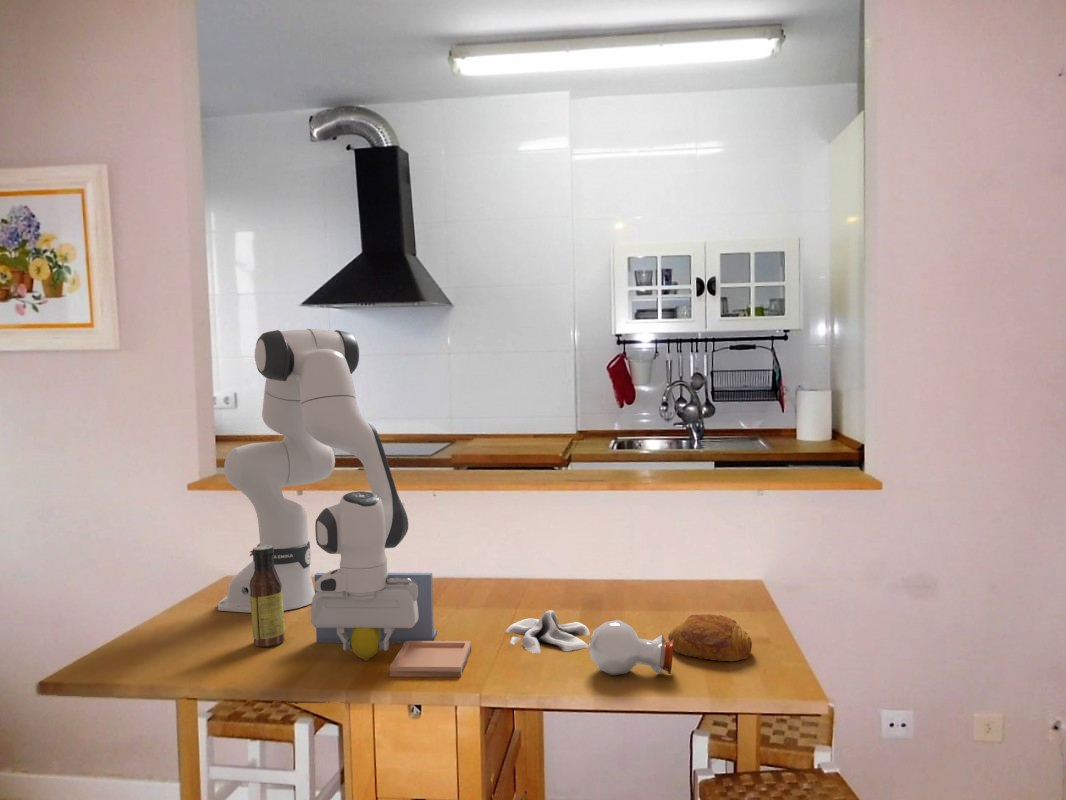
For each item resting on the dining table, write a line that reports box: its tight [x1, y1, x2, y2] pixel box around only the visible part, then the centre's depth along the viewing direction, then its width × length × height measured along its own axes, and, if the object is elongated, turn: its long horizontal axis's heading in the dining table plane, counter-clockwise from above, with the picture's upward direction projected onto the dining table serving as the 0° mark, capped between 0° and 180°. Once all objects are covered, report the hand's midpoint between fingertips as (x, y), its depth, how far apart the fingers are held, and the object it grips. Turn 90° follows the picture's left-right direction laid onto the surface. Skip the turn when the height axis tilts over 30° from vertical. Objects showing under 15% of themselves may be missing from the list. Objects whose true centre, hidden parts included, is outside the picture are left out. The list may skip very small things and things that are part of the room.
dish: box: [389, 640, 472, 678], centre depth 145 cm, size 13×13×2 cm
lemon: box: [351, 627, 381, 661], centre depth 146 cm, size 6×6×8 cm
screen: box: [314, 572, 438, 644], centre depth 158 cm, size 24×5×14 cm, turn 86°
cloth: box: [505, 609, 591, 654], centre depth 156 cm, size 22×19×6 cm
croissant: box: [667, 613, 753, 662], centre depth 148 cm, size 14×16×8 cm
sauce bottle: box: [250, 545, 286, 648], centre depth 156 cm, size 7×6×20 cm
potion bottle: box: [588, 619, 674, 676], centre depth 138 cm, size 9×10×15 cm
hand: (366, 649), depth 146 cm, fingers closed on lemon, 5 cm apart
